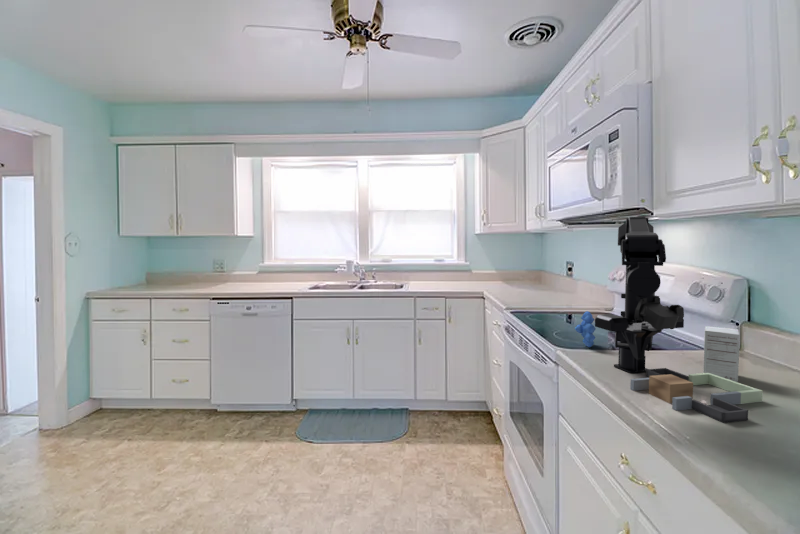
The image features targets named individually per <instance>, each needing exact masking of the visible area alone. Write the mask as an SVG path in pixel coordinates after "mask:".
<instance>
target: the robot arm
mask: <svg viewBox="0 0 800 534" xmlns="http://www.w3.org/2000/svg"><path fill="white" fill-rule="evenodd" d="M617 246H618V247H619V246H620V247H619V248H620V250H619V251H620V253H621V266H625V283H624V284H625V286H624V287H625V291H624V292H625V293H620V298H621V299H624V310H620V315H617V314H611V313H608V314H597V316H596V317H595V318H594V327H595V328H599V329H602V330H605V331H609V332H615V335H614V347H615V349H616V348H617V349H618V363H616V364H613V367H614V368H617V369H620V370H622V371H624V372H627V373H631V374H633V373H641V372H642V373H646V369H648V368H647V367H646V351H647V352H650V351H652V350H653V349H652V348H653V338H654V336H655V335H657V334H659V333H662V331H664V330H667V329H668V330H674V329H683V328H684V326H685V325H684V324H685V322H684V321H685V320H684V317H685V310H684V307H683V306H682V305H679V304H671V305H669V306H668V305H663V304H661V298H660V295H656V292H657V291H658V290H659V288H660V287H661V278H660V275H659V274H658V273H657V272H656V268H655V266H656V267H663V266H664V263H666V262H667V261H666V260H667V256H666V245H665V243H663V239H661V238H660V239H659V234H658V233H656V232H654V226H653V225H652V224H651V223H650V222H649V217H648V216H647V217H646V216H629V217H626V218H625V222H624V223H623V224H622V225H620V226H618V229H617Z"/></svg>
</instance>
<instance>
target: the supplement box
mask: <svg viewBox="0 0 800 534" xmlns="http://www.w3.org/2000/svg"><path fill="white" fill-rule="evenodd" d="M740 335H741V334H740V329H737V328H728V327H718V326H709V325H708V326H707V325H706V326H705V327H704V338H703V339H704V341H703V370H702V371H703V372H702V373H711V374H714V375H717V376H720V377H723V378H726V379H729V380H732V381H735V382H738V383H739V367H740V366H739V364H740V363H739V362H740V341H741V340H740V339H741V338H740Z"/></svg>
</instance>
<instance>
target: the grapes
mask: <svg viewBox="0 0 800 534" xmlns="http://www.w3.org/2000/svg"><path fill="white" fill-rule="evenodd" d="M580 319H581V320H582V321H581V322H580V323H579V324H577V325H576V326H575V327H574V330H575V331H576V333H578V334H580V335H581V336H582V338H583V339H582V341H581V342H582V343H583V344H584V345H585V346H586V347H587V348H591V347H592V346H594V344H595V342H594V341H595V339H596V336H595V335H594V332H595V331H596V328H597V327H595V325H593V323H594V322H595V318H593V314H592V313H591V312H590V311H588V310H586V311H585V312H584V313H583V314H582V316H581V317H580Z"/></svg>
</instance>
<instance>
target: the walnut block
mask: <svg viewBox="0 0 800 534" xmlns="http://www.w3.org/2000/svg"><path fill="white" fill-rule="evenodd" d="M648 395H650V396H652V397H655V398H657V399H659V400H661V401H663V402H666V403H668V404H672V399H673V397H682V396H689V397H692V400H694V399H693V397H694V396H693V395H694V385H693V382H690V381H687V380H685V379H682V378H679V377H677V376H674V375H672V374H669V375H654V376H649V389H648Z"/></svg>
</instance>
